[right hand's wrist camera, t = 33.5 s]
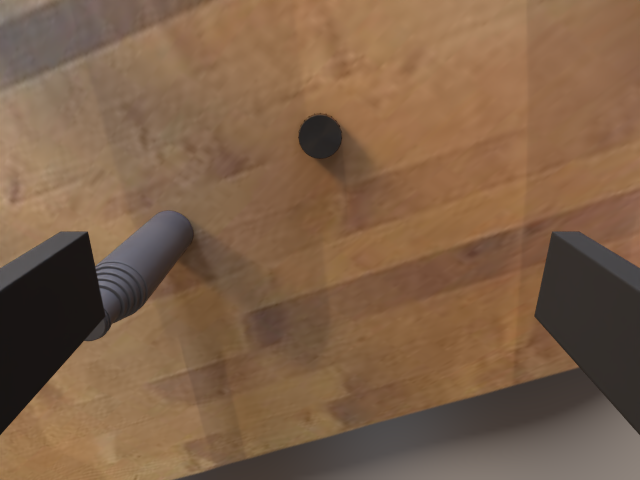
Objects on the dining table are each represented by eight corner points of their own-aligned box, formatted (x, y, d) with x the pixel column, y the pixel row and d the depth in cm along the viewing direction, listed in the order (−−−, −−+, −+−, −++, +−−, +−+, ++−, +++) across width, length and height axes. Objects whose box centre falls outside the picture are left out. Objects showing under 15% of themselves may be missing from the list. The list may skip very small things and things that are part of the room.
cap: (298, 112, 41) (298, 114, 39) (341, 112, 41) (342, 114, 39) (299, 155, 42) (298, 158, 40) (340, 156, 42) (341, 159, 40)
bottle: (202, 233, 45) (133, 326, 28) (173, 259, 46) (90, 364, 29) (169, 201, 44) (77, 279, 27) (140, 229, 45) (33, 320, 28)
